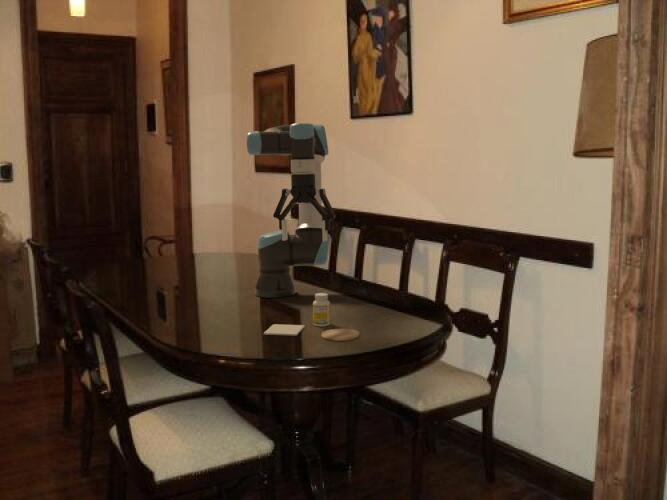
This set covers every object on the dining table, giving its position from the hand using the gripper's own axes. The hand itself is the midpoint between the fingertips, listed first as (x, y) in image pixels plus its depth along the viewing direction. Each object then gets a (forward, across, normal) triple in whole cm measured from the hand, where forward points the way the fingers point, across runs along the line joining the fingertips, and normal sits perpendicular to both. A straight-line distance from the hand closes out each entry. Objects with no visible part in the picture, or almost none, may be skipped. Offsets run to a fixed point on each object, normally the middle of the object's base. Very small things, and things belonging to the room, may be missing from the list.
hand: (304, 240), depth 220 cm
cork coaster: (+25, +17, -18) cm, 35 cm away
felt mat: (+25, -1, -17) cm, 30 cm away
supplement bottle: (+25, +8, -7) cm, 27 cm away
